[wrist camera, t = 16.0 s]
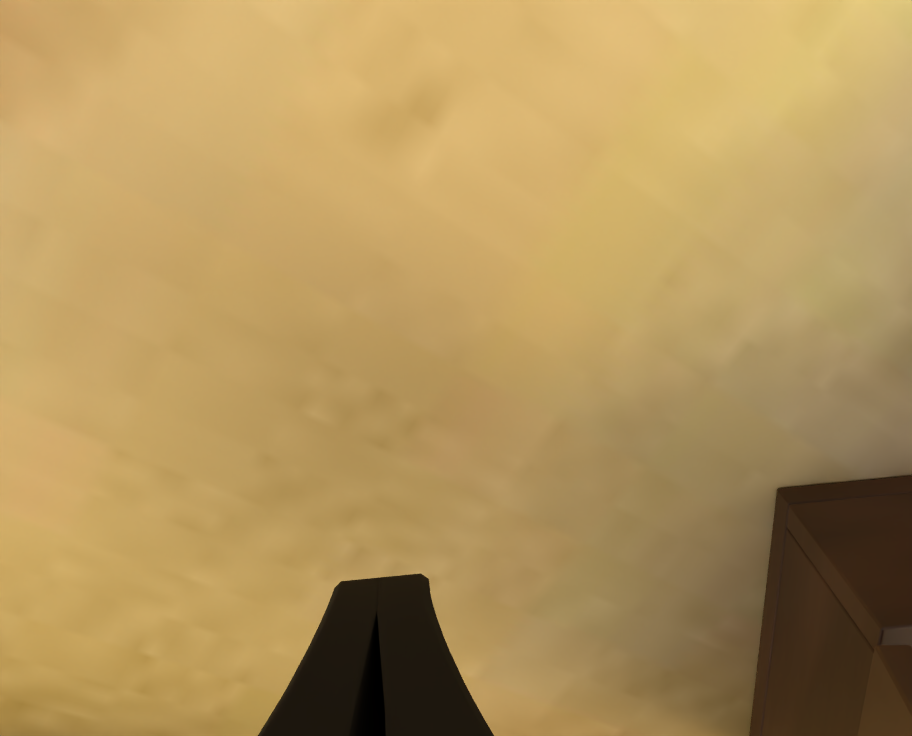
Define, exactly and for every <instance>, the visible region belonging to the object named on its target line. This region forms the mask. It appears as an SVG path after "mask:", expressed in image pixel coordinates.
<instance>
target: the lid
mask: <svg viewBox="0 0 912 736" xmlns="http://www.w3.org/2000/svg"><path fill="white" fill-rule="evenodd" d="M858 736H912V647H911V646H910V645H877V646H875V649H874V654H873V659H872V665H871V670H870V675H869V680H868V685H867V691H866V696H865V701H864V706H863V711H862V717H861V722H860V727H859V732H858Z"/></svg>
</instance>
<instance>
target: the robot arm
mask: <svg viewBox="0 0 912 736" xmlns="http://www.w3.org/2000/svg"><path fill="white" fill-rule="evenodd" d="M258 736H494V735H493V733H492V732H491V730H490V728H489V727H488V725H487V723H486V722H485V720H484V718H483V716H482V714H481V713H480V711H479V709H478V707H477V705H476V704H475V702H474V700H473V698H472V696H471V694H470V693H469V691H468V689H467V687H466V685H465V683H464V681H463V679H462V677H461V675H460V672H459V670H458V668H457V666H456V664H455V662H454V659H453V657H452V655H451V653H450V651H449V649H448V646H447V644H446V641H445V639H444V636H443V634H442V631H441V628H440V625H439V623H438V620H437V617H436V614H435V610H434V607H433V603H432V599H431V594H430V587H429V579H428V578H426V577H425V576H423V575H422V574H412V575H402V576H392V577H381V578H371V579H361V580H351V581H341V582H340V583H339V584H338V585H337V586H336V587H335V588H334V591H333V594H332V596H331V599H330V602H329V604H328V606H327V609H326V611H325V614H324V616H323V618H322V620H321V623H320V625H319V627H318V629H317V631H316V633H315V635H314V637H313V639H312V641H311V644H310V646H309V648H308V650H307V652H306V653H305V655H304V657H303V659H302V661H301V663H300V665H299V667H298V668H297V670H296V672H295V674H294V676H293V678H292V680H291V681H290V683H289V685H288V687H287V689H286V690H285V692H284V694H283V696H282V697H281V699H280V701H279V702H278V704H277V706H276V707H275V709H274V710H273V712H272V714H271V715H270V717H269V719H268V720H267V722H266V723H265V725H264V727H263V728H262V730H261V732H260V733H259V735H258Z"/></svg>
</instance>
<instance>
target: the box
mask: <svg viewBox="0 0 912 736" xmlns="http://www.w3.org/2000/svg"><path fill="white" fill-rule="evenodd" d="M877 645H910V646H911V647H912V476H904V477H894V478H884V479H873V480H863V481H853V482H842V483H832V484H821V485H811V486H801V487H790V488H780V489H778V490H777V497H776V506H775V515H774V524H773V533H772V541H771V550H770V559H769V568H768V577H767V586H766V595H765V603H764V612H763V621H762V630H761V639H760V648H759V656H758V665H757V674H756V683H755V692H754V701H753V710H752V718H751V727H750V736H858V732H859V727H860V722H861V717H862V711H863V706H864V701H865V696H866V691H867V685H868V680H869V675H870V670H871V665H872V659H873V654H874V649H875V646H877Z"/></svg>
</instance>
